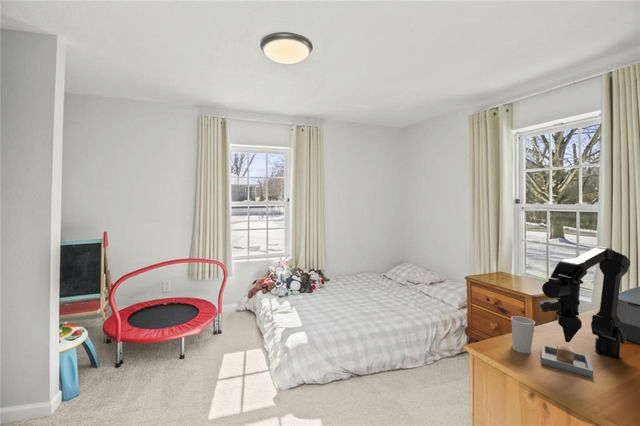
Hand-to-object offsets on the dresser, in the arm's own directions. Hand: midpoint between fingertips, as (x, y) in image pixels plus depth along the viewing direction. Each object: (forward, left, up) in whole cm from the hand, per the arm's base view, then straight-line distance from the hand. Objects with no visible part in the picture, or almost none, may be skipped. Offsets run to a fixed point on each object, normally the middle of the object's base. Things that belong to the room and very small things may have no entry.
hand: (566, 337), depth 112 cm
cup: (+13, -3, -10) cm, 17 cm away
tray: (0, 0, -10) cm, 10 cm away
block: (0, 0, -9) cm, 9 cm away
